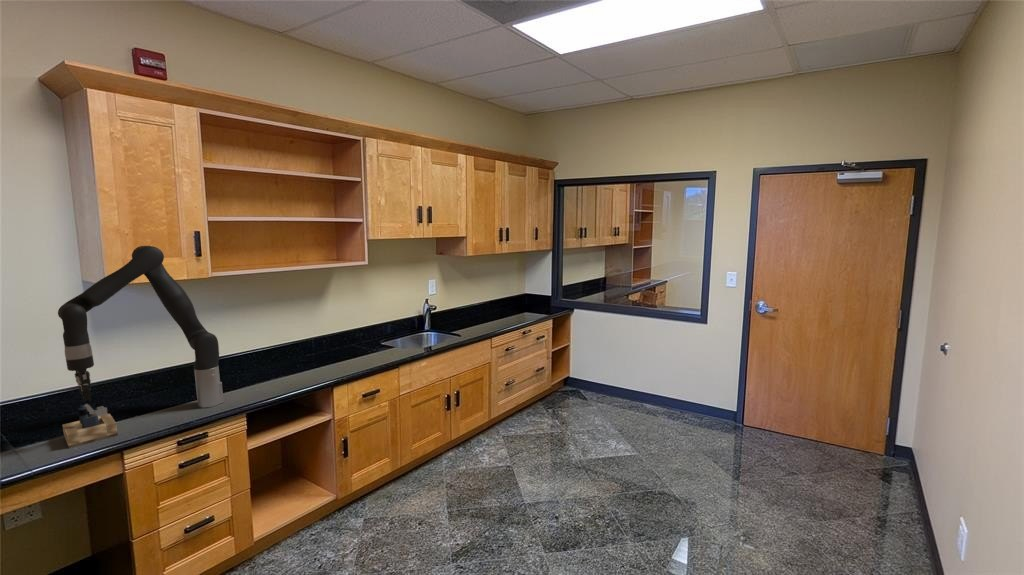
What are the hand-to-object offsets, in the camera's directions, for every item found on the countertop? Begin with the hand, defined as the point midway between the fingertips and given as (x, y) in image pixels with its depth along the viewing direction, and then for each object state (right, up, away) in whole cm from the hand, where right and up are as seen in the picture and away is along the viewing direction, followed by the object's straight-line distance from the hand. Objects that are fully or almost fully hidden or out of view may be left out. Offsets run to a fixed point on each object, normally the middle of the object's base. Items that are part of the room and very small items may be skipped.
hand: (85, 397), depth 181 cm
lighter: (-11, -14, +17) cm, 24 cm away
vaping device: (+1, -15, +2) cm, 15 cm away
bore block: (0, -16, +2) cm, 16 cm away
